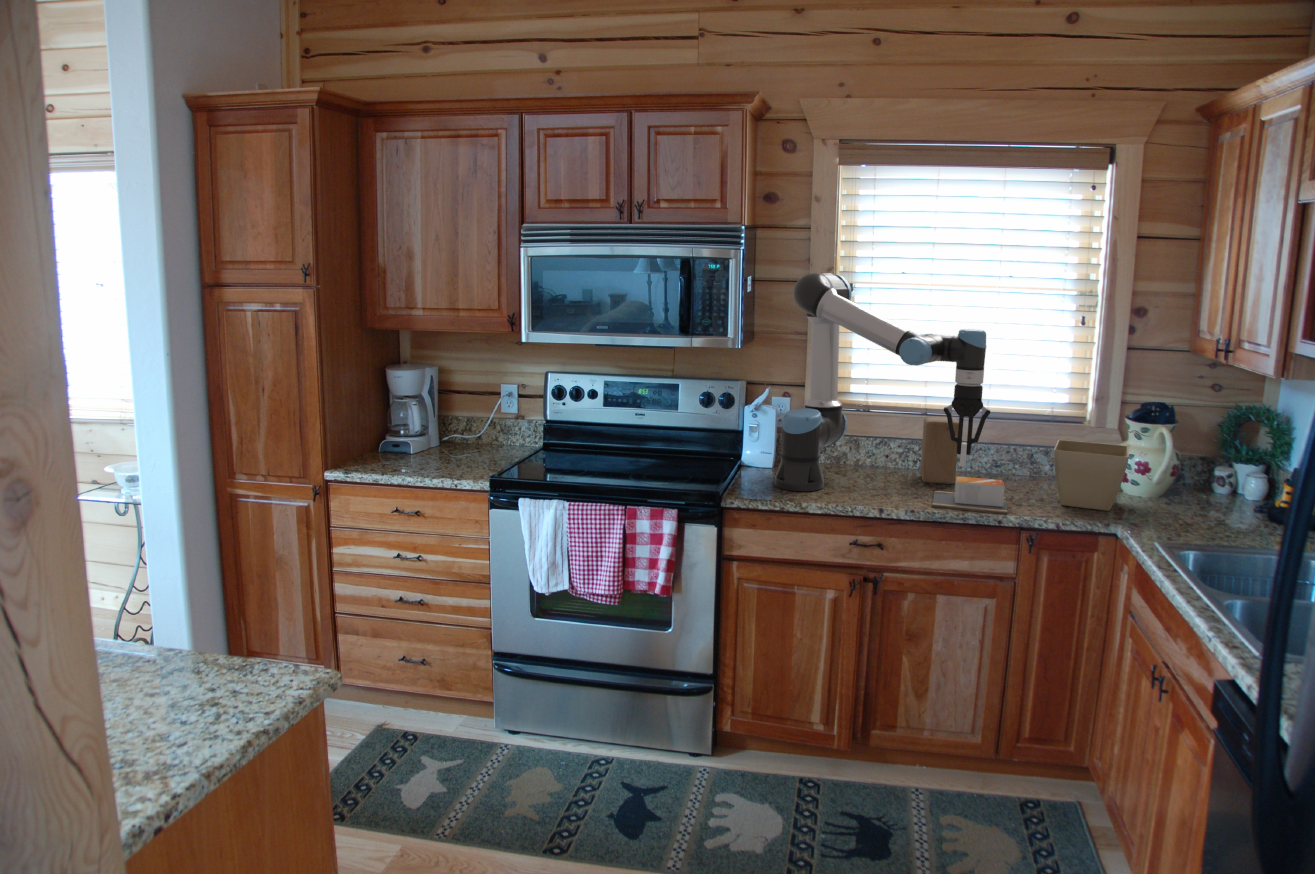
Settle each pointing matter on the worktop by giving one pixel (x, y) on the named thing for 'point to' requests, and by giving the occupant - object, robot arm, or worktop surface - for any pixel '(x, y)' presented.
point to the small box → (979, 491)
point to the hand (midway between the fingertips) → (962, 465)
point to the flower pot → (1089, 473)
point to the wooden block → (938, 451)
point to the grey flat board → (948, 502)
